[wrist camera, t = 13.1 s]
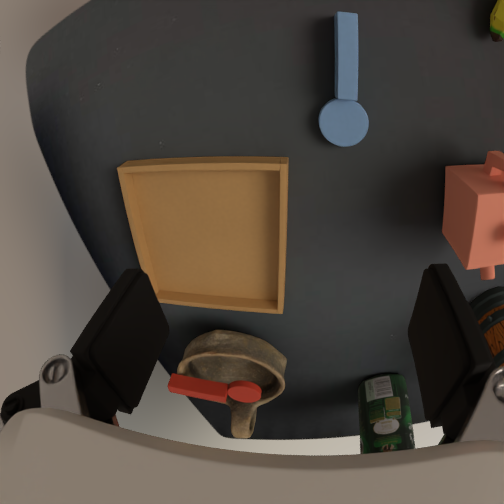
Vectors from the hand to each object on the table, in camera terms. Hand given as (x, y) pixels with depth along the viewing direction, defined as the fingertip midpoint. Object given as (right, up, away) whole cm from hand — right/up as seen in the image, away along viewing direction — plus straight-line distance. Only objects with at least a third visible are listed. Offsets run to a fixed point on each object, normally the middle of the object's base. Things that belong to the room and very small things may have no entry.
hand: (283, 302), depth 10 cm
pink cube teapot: (+20, +7, +14) cm, 26 cm away
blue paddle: (+6, +15, +11) cm, 19 cm away
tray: (-5, +3, +21) cm, 21 cm away
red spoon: (-5, -14, +24) cm, 29 cm away
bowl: (-3, -12, +31) cm, 34 cm away
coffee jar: (+19, -19, +32) cm, 42 cm away
